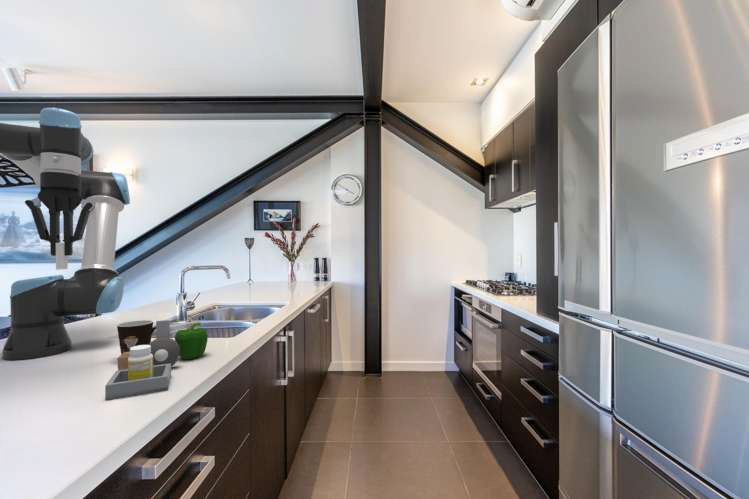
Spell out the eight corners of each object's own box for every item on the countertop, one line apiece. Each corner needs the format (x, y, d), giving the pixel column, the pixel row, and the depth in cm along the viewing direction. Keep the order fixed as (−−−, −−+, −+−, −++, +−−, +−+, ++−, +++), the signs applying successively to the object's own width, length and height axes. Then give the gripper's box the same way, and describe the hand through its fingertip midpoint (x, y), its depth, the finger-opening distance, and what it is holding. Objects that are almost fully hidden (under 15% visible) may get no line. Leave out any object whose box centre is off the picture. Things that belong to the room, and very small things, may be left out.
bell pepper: (168, 362, 95) (167, 326, 95) (184, 353, 104) (183, 320, 104) (198, 361, 96) (198, 325, 96) (212, 352, 104) (212, 319, 104)
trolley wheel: (146, 366, 92) (145, 321, 92) (180, 362, 95) (180, 318, 95) (142, 373, 86) (142, 325, 86) (179, 368, 90) (178, 322, 90)
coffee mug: (109, 362, 96) (108, 326, 96) (134, 353, 104) (134, 320, 104) (146, 363, 94) (146, 327, 94) (169, 354, 103) (169, 320, 103)
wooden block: (123, 372, 88) (123, 352, 88) (142, 369, 90) (142, 350, 90) (118, 378, 83) (117, 358, 83) (137, 376, 85) (137, 355, 85)
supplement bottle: (138, 380, 80) (137, 344, 80) (158, 380, 80) (157, 344, 80) (122, 388, 76) (122, 350, 76) (143, 388, 75) (143, 350, 75)
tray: (116, 383, 80) (116, 370, 80) (171, 375, 85) (171, 363, 85) (105, 400, 71) (105, 385, 71) (167, 390, 76) (167, 376, 76)
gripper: (18, 167, 79) (19, 270, 79) (90, 173, 85) (90, 269, 85) (32, 174, 86) (33, 269, 86) (98, 178, 92) (98, 267, 92)
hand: (61, 269), depth 85 cm, fingers closed
